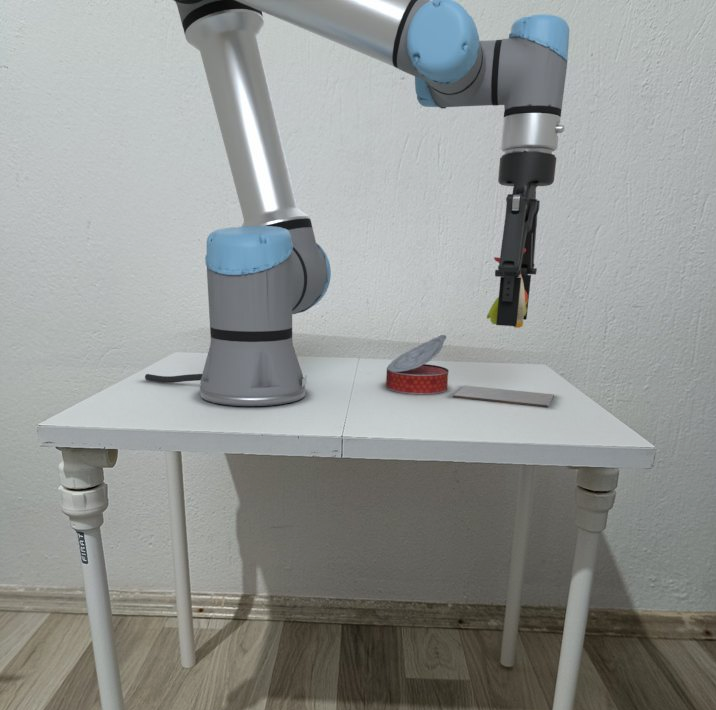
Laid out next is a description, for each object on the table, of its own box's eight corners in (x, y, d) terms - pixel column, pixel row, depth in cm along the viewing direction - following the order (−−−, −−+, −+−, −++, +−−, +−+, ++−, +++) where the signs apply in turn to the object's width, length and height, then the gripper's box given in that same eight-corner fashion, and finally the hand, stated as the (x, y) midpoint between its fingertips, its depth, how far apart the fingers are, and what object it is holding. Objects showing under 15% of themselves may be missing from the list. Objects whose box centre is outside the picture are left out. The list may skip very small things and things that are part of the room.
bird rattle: (536, 342, 97) (521, 311, 103) (555, 270, 89) (537, 241, 96) (494, 342, 96) (482, 310, 103) (509, 270, 88) (495, 241, 95)
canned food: (433, 423, 103) (430, 372, 96) (376, 407, 108) (370, 357, 100) (462, 379, 110) (461, 329, 102) (407, 366, 114) (403, 317, 107)
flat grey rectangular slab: (453, 397, 100) (453, 395, 100) (464, 387, 107) (465, 385, 107) (547, 407, 96) (548, 405, 95) (553, 396, 103) (554, 394, 102)
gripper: (547, 141, 79) (527, 331, 87) (564, 162, 98) (546, 316, 106) (485, 143, 82) (470, 328, 89) (513, 163, 101) (499, 314, 109)
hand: (512, 321), depth 98 cm, fingers closed on bird rattle, 9 cm apart
